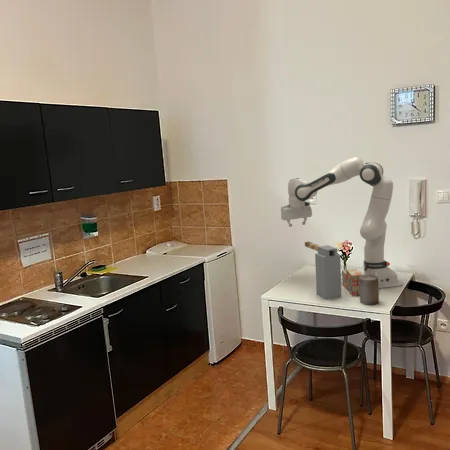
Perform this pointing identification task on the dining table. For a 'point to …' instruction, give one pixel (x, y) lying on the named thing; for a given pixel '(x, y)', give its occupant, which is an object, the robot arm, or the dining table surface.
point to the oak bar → (312, 245)
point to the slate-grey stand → (328, 272)
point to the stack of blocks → (351, 281)
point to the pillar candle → (369, 289)
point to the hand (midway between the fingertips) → (297, 225)
